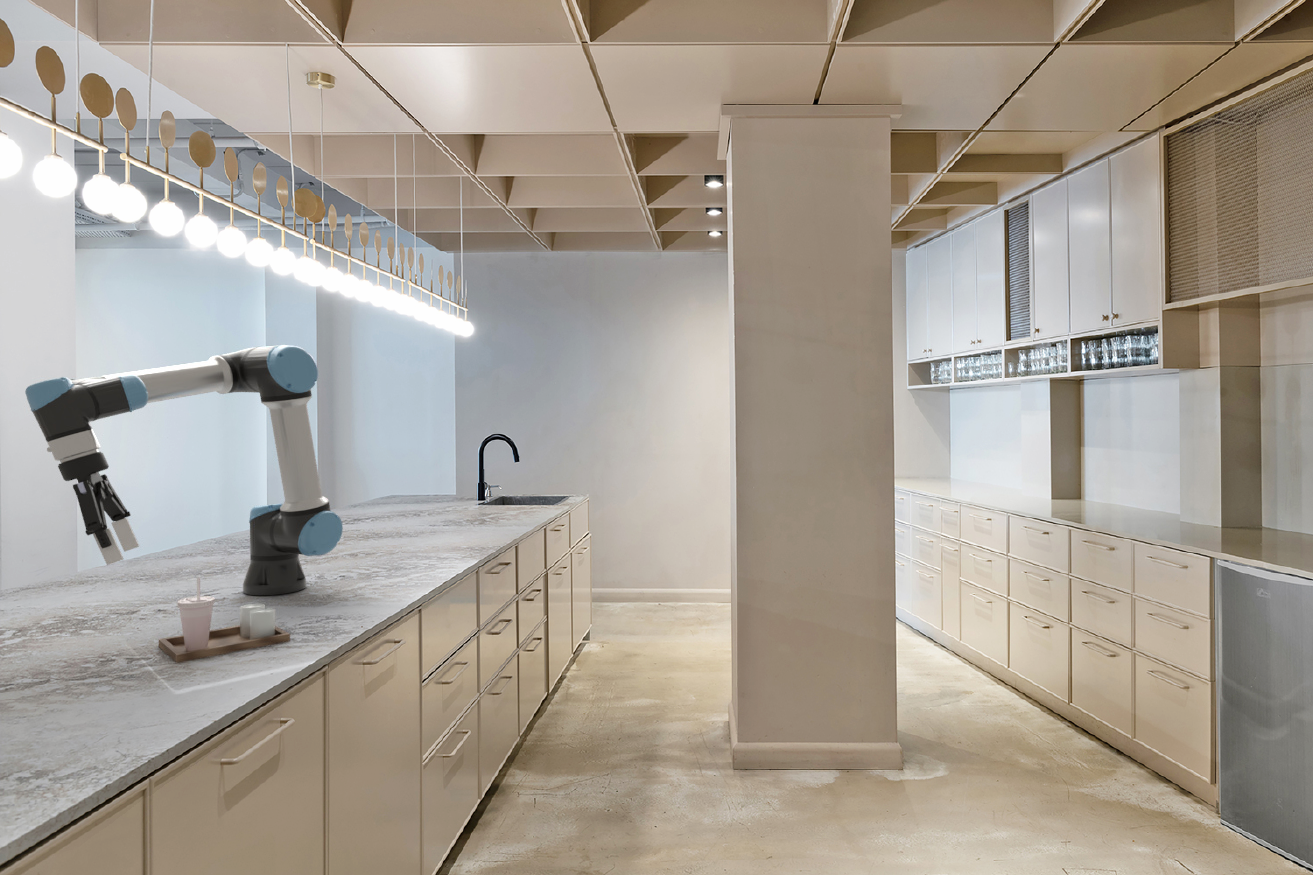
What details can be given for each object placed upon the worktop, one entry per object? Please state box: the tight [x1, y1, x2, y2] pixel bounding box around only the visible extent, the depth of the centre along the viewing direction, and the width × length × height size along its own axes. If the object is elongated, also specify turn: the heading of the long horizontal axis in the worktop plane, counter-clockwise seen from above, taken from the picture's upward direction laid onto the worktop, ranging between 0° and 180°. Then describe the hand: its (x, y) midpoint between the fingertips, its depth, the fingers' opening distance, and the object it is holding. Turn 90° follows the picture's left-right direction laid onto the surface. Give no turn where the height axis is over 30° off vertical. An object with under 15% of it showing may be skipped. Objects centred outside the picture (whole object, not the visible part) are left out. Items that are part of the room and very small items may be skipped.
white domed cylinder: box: [250, 607, 276, 640], centre depth 155 cm, size 5×5×6 cm
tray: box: [158, 624, 291, 663], centre depth 153 cm, size 20×14×2 cm
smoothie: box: [176, 577, 216, 651], centre depth 149 cm, size 6×6×14 cm
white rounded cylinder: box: [239, 603, 266, 638], centre depth 159 cm, size 5×5×6 cm
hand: (124, 555), depth 153 cm, fingers open, 13 cm apart
